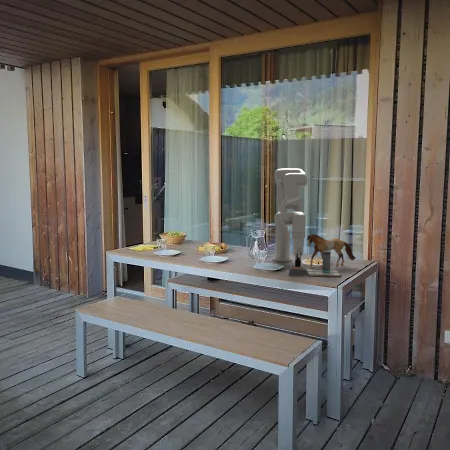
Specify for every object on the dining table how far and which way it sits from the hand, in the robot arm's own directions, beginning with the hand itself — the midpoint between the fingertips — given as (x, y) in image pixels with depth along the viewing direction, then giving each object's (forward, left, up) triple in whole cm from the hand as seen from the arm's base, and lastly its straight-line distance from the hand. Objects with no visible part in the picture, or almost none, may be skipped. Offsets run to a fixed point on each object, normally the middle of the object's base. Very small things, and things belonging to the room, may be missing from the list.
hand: (297, 266), depth 268 cm
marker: (-1, +16, -3) cm, 17 cm away
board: (-1, +14, -4) cm, 15 cm away
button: (0, 0, -3) cm, 3 cm away
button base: (0, 0, -4) cm, 4 cm away
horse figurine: (-17, +22, -4) cm, 28 cm away
